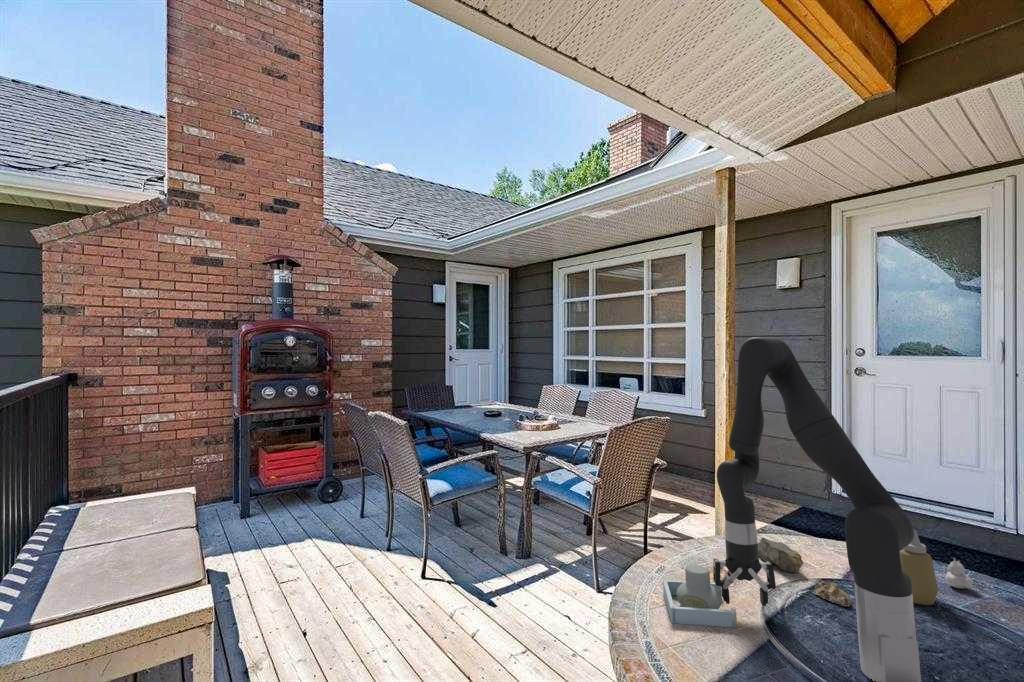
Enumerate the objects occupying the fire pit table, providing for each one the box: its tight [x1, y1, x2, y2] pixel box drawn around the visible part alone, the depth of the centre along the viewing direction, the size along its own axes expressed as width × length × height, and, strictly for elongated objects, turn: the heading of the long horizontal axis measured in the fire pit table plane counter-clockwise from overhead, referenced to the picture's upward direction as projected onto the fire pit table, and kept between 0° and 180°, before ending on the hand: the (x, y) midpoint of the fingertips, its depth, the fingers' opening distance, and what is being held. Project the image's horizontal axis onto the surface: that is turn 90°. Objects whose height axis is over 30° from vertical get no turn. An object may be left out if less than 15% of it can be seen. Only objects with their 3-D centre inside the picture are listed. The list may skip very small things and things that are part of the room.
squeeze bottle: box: [900, 529, 939, 606], centre depth 123 cm, size 8×8×18 cm
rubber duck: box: [945, 557, 974, 590], centre depth 129 cm, size 5×7×8 cm
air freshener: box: [675, 564, 723, 609], centre depth 122 cm, size 11×8×10 cm
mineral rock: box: [813, 580, 853, 605], centre depth 126 cm, size 11×4×8 cm
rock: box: [758, 537, 804, 574], centre depth 148 cm, size 17×7×10 cm
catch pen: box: [662, 579, 738, 629], centre depth 122 cm, size 16×15×4 cm
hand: (745, 603), depth 120 cm, fingers open, 8 cm apart
